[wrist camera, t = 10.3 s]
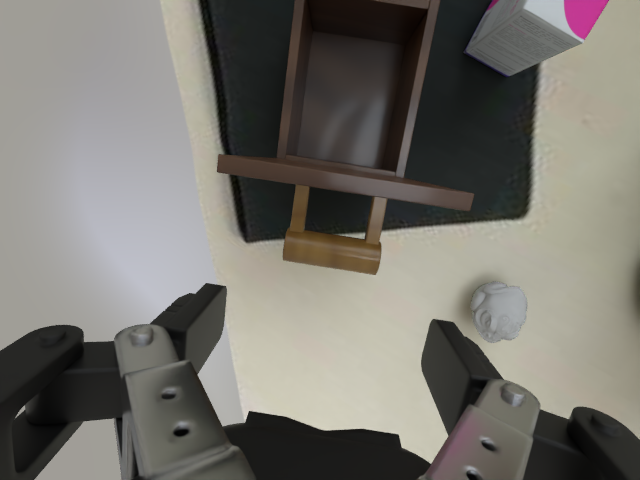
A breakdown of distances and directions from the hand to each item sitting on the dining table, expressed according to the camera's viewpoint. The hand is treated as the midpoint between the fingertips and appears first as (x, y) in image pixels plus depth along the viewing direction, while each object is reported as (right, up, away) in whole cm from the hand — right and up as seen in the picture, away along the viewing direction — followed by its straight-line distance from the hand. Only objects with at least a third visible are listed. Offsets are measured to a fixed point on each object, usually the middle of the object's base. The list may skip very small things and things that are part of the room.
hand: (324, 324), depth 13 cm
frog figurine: (+21, -4, +30) cm, 37 cm away
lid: (+1, +8, +10) cm, 12 cm away
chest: (+3, +19, +25) cm, 32 cm away
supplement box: (+19, +25, +23) cm, 39 cm away
